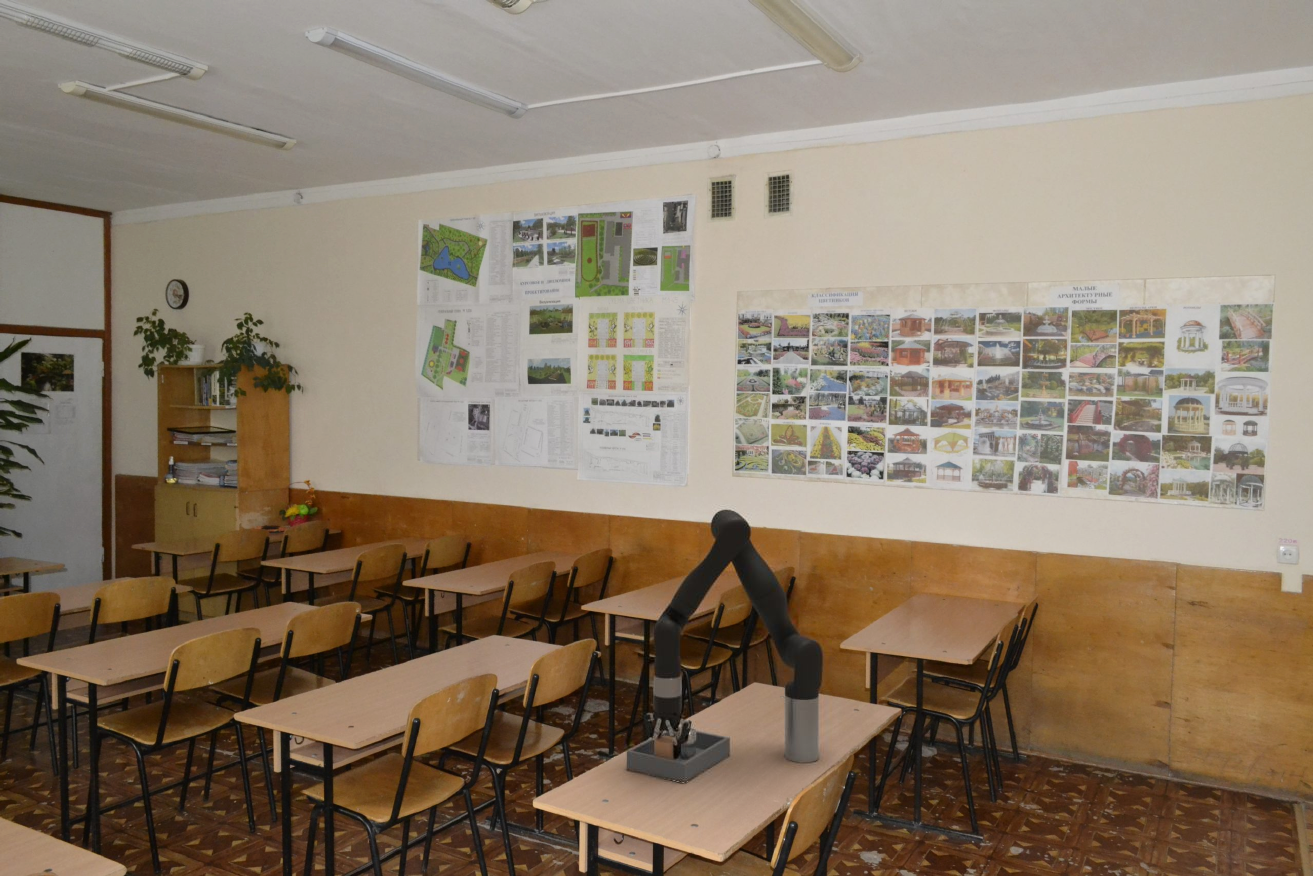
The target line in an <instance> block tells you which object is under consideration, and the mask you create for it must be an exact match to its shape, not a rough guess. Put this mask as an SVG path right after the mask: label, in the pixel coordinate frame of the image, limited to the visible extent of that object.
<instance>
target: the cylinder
mask: <svg viewBox="0 0 1313 876" xmlns="http://www.w3.org/2000/svg"><path fill="white" fill-rule="evenodd" d="M680 731H682V728H681V729H680ZM696 731H697V730H696V729H695V728H693V727H691V728H690V733H689V737H688V741H687V742H685V743H683V744H681V755H680V758H681V759H690V758H692V757H694V756H695V755H696ZM680 735H681V733H680Z"/></svg>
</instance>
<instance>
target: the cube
mask: <svg viewBox="0 0 1313 876" xmlns="http://www.w3.org/2000/svg"><path fill="white" fill-rule="evenodd" d="M673 745H674V743H673V740H672V737H670V736H665V735H664V736H662V737H660V738H658V739H656V740H655V741H654V756H657V757H661V758H666V759H670V760H674V761H675V760H677V759H678V758H677V759H674V758H673ZM679 758H680V756H679Z"/></svg>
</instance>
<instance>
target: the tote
mask: <svg viewBox="0 0 1313 876" xmlns="http://www.w3.org/2000/svg"><path fill="white" fill-rule="evenodd" d="M679 728H680V729H681V726H679ZM674 732H675V730H674ZM664 735H665V736H670V734H669V732H668V731H666V730H664V731H663V733H662V736H664ZM662 736H661V737H662ZM670 737H671V736H670ZM730 752H731V737H728V736H724V735H719V734H714V733H710V732H709V733H708V732H705V731H699V730H696V755H695V756H694V757H692V758H690V759H681V758H678V759H677V760H675V761H674V760H670V759H666V758H661V757H657V756H654V740H653V738H651V737H650V738H649V739H647V740H645V741H643V742H641V743H640V744H637V745H636V746H634V747H632V748H630V749H628V750H626V770H627V769H629V770H628V771H630V770H633V771H632V772H634V771H637V772H636V773H638V772H641V773H640V774H642V773H645V774H644V775H646V774H650V775H653V776H652V777H654V776H656V777H655V778H658V777H660V778H659V779H662V778H665V779H664V780H666V779H670V780H675V781H679V782H684V783H686V782H687V781H689V780H690V781H692V780H693V779H692V778H694V777H695V778H697V777H698V776H699V775H698V774H700V773H701V774H703V773H705V772H706V771H708V770H710V769H711V768H713V767H714V766H716V765H718V764H719V763H721V762H723V761H724V760H725V759H727V758H729V757H730V756H731V753H730ZM712 766H713V767H712ZM707 769H708V770H707ZM705 770H706V771H705ZM704 771H705V772H704ZM702 772H703V773H702ZM701 774H700V775H701ZM650 775H649V776H650ZM697 775H698V776H697ZM696 776H697V777H696ZM695 778H694V779H695ZM691 779H692V780H691ZM670 780H669V781H670ZM690 781H689V782H690ZM679 782H678V783H679ZM687 783H688V782H687ZM687 783H686V784H687Z"/></svg>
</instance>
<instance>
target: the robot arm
mask: <svg viewBox="0 0 1313 876" xmlns="http://www.w3.org/2000/svg"><path fill="white" fill-rule="evenodd" d="M710 531H711V534H712V536H713V539H715V540H714V542H713V544H712V546H711V548H710V551H709V552H708V553H707V554H706V556H705V558H703V560H702V561H701V562H700V563H699V564H698V565H697V566H696V567H694V569H692V570H691V571H690V573H689V574H688V575H686V577H685V578H684V580H683V581H682V583H681V584H680V586H679V587H678V588H677V591H676V592H675V594H674V595H673V597H672V599H671V601H670V602H669V604H668V605H667V607H666V608H665V609H664V611H663V612H662V614H661V615H660V616H659V618H658V619H657V621H656V623H655V625H654V627H653V648H654V649H653V650H654V651H653V652H654V662H653V663H654V664H653V665H654V671H653V672H654V676H653V683H652V684H653V685H652V687H653V689H652V690H653V693H652V694H653V697H652V700H653V701H652V706H653V712H647V713H646V714H644V715H643V721H644V725H645V730H646V736H647V737H648V738H650V739H651V738H653V740H654V741H655V740H656V739H658V738H660V737H661V736H662V733H663V732H664V731H668V732H669V734H670V736H671V737H672V740H673V743H674V745H673V758H674V759H677V758H679V756H680V755H681V744H683V743H685V742H687V741H688V737H689V733H690V728H692V721H691V720H690V719H689V720H685V719H684V718H683V716H682V709H683V708H682V707H683V706H682V704H683V703H682V697H683V695H682V692H683V689H682V686H683V684H682V672H681V671H682V670H681V668H682V666H681V665H682V663H681V655H680V647H681V646H680V645H681V634H682V631H684V628H685V627H686V625H687V623H688V622H689V620H690V618H691V617H692V616H693V615H694V614H695V613H696V611H697V610H698V608H699V607H700V605H701V603H702V602H703V601H704V599H705V597H706V595H707V594H708V593H709V591H711V590H710V589H711V588H712V587H713V585H714V583H716V581H717V580H718V579H719V577H720V576H721V574H722V573H723V572H724V571H725V570H726V569H727V567H728V566H729V565H730V563H732V565H733V567H734V571H735V573H736V575H737V578H738V579H739V581H740V583H741V585H742V587H743V588H742V589H744V591H745V593H746V595H747V598H748V599H749V601H750V602H751V604H752V606H753V607H754V610H755V611H756V612H757V614H758V615H759V617H760V619H761V622H762V623H763V624H764V627H765V628H766V630H767V631H768V633H769V635H770V637H771V640H772V642H773V645H774V647H775V650H776V651H777V654H778V656H779V658H780V660H781V662H782V663H784V665H785V666H787V667H789V668H790V669H792V670H794V673H793V679H792V681H789V682H787V683H785V686H784V758H785V759H786V760H788V761H790V762H794V763H799V764H800V763H801V764H806V763H807V764H809V763H813V762H815V761H818V760H819V755H820V754H819V749H820V748H819V747H820V745H819V739H820V738H819V735H820V734H819V733H820V728H819V726H820V725H819V724H820V722H819V721H820V720H819V719H820V717H819V716H820V714H819V709H820V708H819V706H820V705H819V704H820V698H819V697H820V695H819V693H820V689H821V686H822V682H823V666H824V653H823V649H822V647H821V645H820V643H819V642H817V641H816V640H815V639H811V638H809V637H807V636H804V635H801V634H800V633H799V632H798V630H797V629H796V627H795V626H794V623H792V621H791V619H790V617H789V612H788V598H787V596H786V595H787V594H786V593H785V591H784V588H783V587H782V585H781V583H780V581H779V579H778V577H777V576H776V575H775V573H774V571H773V570H772V569H771V568H770V566H769V565H768V564H767V562H766V560H764V558H763V557H762V556H761V555H760V553H759V552H758V551H757V550H756V548H755V546H754V543H752V540H751V535H752V529H751V526H750V524H749V523H748V521H747V520H746V519H745V518H744V517H743V516H742V515H741V514H739V513H738V512H736V511H734V510H731V509H721V510H719V511H717V512H716V513H714V515H713V517H712V518H711V522H710ZM655 723H656V724H655ZM679 727H681V728H682V731H680V728H679ZM674 730H675V732H674ZM680 733H681V735H680Z"/></svg>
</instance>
